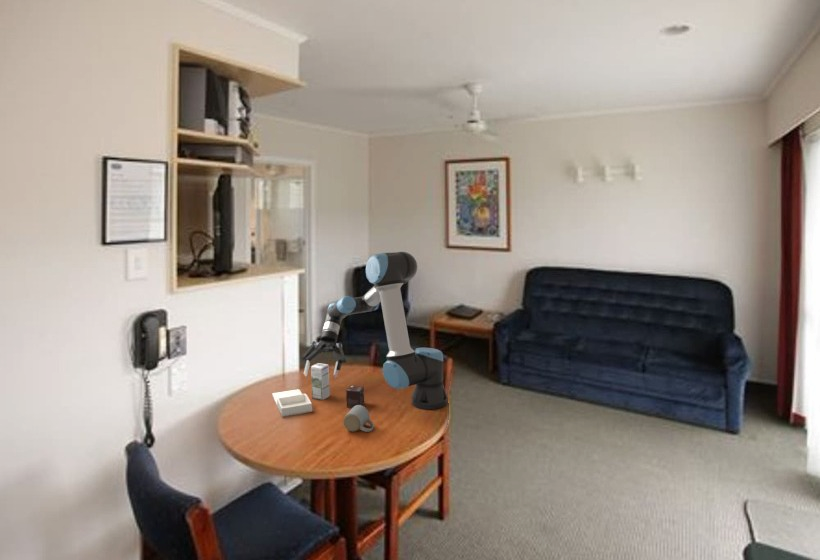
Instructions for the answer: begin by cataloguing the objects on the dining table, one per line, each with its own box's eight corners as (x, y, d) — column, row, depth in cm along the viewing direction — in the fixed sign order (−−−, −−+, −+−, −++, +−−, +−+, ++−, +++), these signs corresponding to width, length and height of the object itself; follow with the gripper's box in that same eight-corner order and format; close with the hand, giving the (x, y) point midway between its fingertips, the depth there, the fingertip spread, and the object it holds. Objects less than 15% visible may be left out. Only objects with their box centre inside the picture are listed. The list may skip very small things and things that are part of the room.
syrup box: (330, 395, 212) (329, 363, 210) (322, 400, 207) (321, 367, 205) (319, 393, 214) (318, 362, 212) (311, 398, 209) (310, 366, 207)
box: (360, 408, 198) (359, 391, 197) (346, 407, 199) (345, 390, 198) (364, 402, 204) (364, 386, 203) (350, 401, 205) (350, 385, 204)
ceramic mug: (342, 431, 177) (341, 411, 176) (351, 422, 185) (351, 403, 184) (368, 436, 174) (368, 415, 173) (377, 426, 181) (377, 407, 180)
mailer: (312, 411, 195) (311, 403, 195) (281, 416, 190) (281, 408, 190) (299, 389, 220) (298, 382, 219) (272, 394, 215) (271, 386, 214)
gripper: (357, 338, 225) (349, 380, 212) (306, 336, 229) (295, 378, 216) (354, 330, 219) (345, 373, 206) (302, 328, 223) (290, 370, 210)
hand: (319, 375), depth 211 cm, fingers open, 13 cm apart
